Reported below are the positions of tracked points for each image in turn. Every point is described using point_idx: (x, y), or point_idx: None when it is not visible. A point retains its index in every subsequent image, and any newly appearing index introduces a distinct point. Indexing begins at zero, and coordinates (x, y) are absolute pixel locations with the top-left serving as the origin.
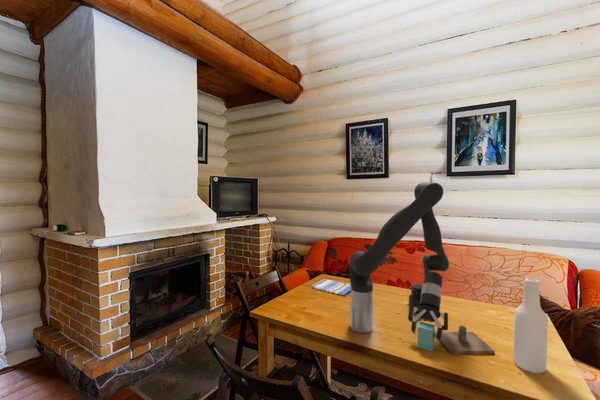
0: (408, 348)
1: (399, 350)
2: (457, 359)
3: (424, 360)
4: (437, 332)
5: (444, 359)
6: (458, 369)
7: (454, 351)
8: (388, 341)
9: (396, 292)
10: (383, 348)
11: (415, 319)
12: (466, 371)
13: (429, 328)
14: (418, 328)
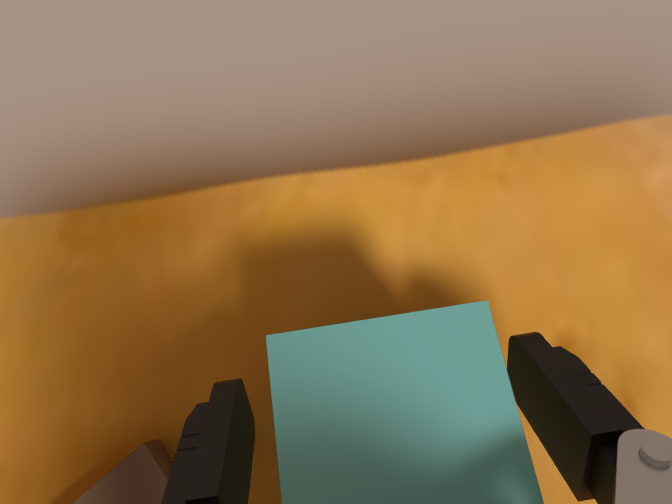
0: (476, 274)
1: (512, 199)
2: (102, 384)
3: (314, 197)
4: (223, 428)
5: (194, 310)
6: (90, 246)
7: (117, 466)
8: (659, 266)
9: None
10: (612, 146)
11: (649, 486)
12: (39, 259)
13: (327, 378)
14: (471, 308)
